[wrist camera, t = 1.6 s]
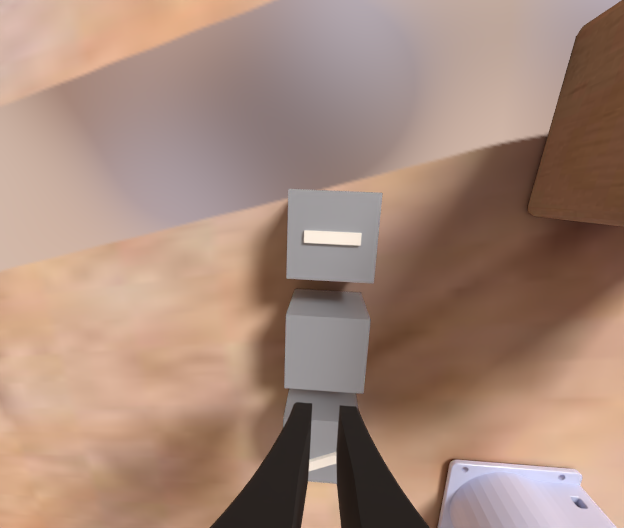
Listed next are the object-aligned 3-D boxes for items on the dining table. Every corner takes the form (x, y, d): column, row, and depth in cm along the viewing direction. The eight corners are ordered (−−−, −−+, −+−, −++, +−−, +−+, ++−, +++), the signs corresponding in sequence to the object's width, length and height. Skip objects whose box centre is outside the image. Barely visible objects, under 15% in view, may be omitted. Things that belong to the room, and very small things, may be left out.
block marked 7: (353, 376, 21) (360, 426, 16) (349, 428, 22) (354, 488, 17) (292, 372, 21) (282, 420, 17) (291, 423, 22) (281, 482, 18)
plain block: (360, 292, 20) (370, 319, 15) (355, 351, 21) (363, 393, 16) (295, 288, 20) (285, 314, 15) (293, 347, 21) (284, 388, 16)
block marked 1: (369, 193, 18) (383, 192, 13) (363, 263, 19) (374, 284, 14) (297, 190, 18) (288, 188, 14) (295, 260, 19) (285, 279, 15)
